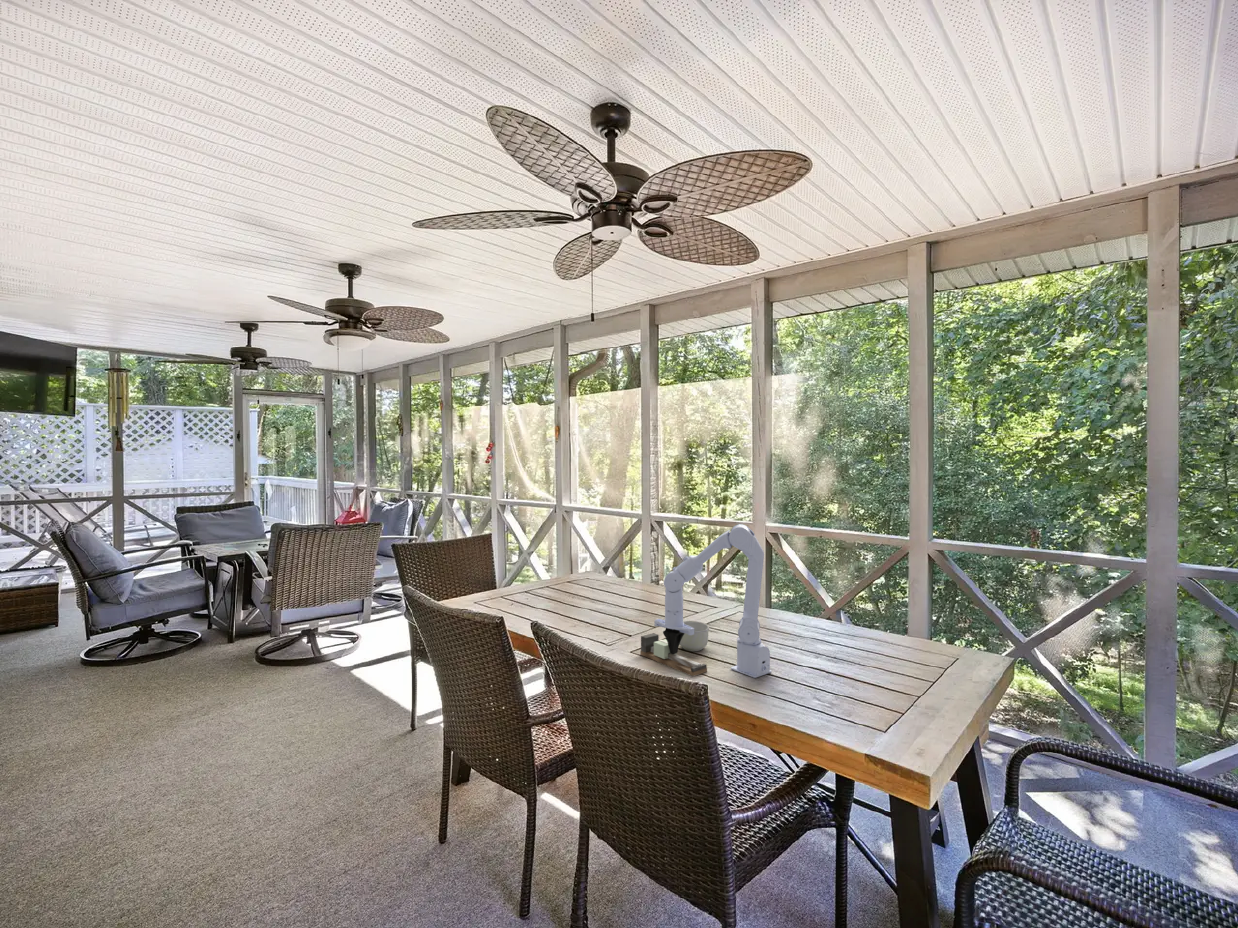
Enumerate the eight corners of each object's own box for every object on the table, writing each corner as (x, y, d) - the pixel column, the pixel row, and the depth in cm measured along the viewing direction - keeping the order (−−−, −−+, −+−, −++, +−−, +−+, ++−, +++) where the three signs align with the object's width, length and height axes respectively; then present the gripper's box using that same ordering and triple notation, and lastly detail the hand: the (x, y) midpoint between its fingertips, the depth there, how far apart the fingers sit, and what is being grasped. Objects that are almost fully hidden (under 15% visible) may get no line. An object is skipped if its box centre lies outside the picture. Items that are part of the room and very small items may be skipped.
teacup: (708, 643, 201) (708, 621, 201) (709, 654, 190) (709, 630, 190) (667, 642, 203) (667, 619, 203) (667, 652, 192) (667, 628, 192)
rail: (707, 671, 175) (707, 651, 175) (692, 676, 171) (693, 655, 171) (654, 650, 194) (654, 632, 194) (640, 654, 190) (640, 636, 190)
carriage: (676, 655, 185) (676, 642, 185) (664, 659, 181) (664, 645, 181) (666, 651, 189) (666, 638, 189) (653, 654, 185) (653, 641, 185)
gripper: (700, 611, 179) (700, 655, 180) (664, 603, 190) (664, 644, 190) (686, 616, 174) (686, 661, 175) (650, 607, 185) (650, 649, 185)
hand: (673, 653), depth 182 cm, fingers closed
